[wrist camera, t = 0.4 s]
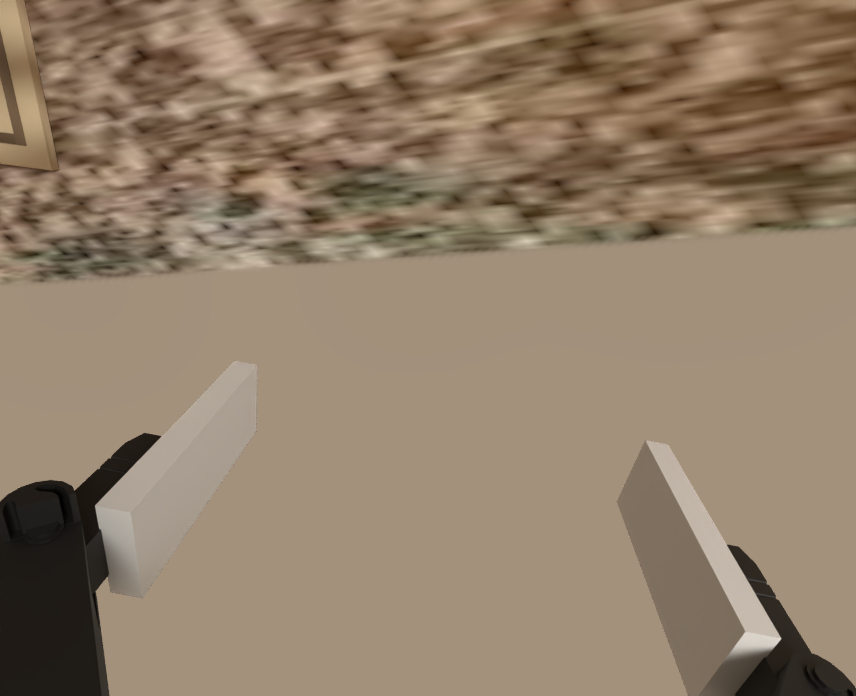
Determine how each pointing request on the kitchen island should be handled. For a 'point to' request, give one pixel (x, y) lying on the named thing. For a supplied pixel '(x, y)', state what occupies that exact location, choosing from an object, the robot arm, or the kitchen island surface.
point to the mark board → (22, 95)
